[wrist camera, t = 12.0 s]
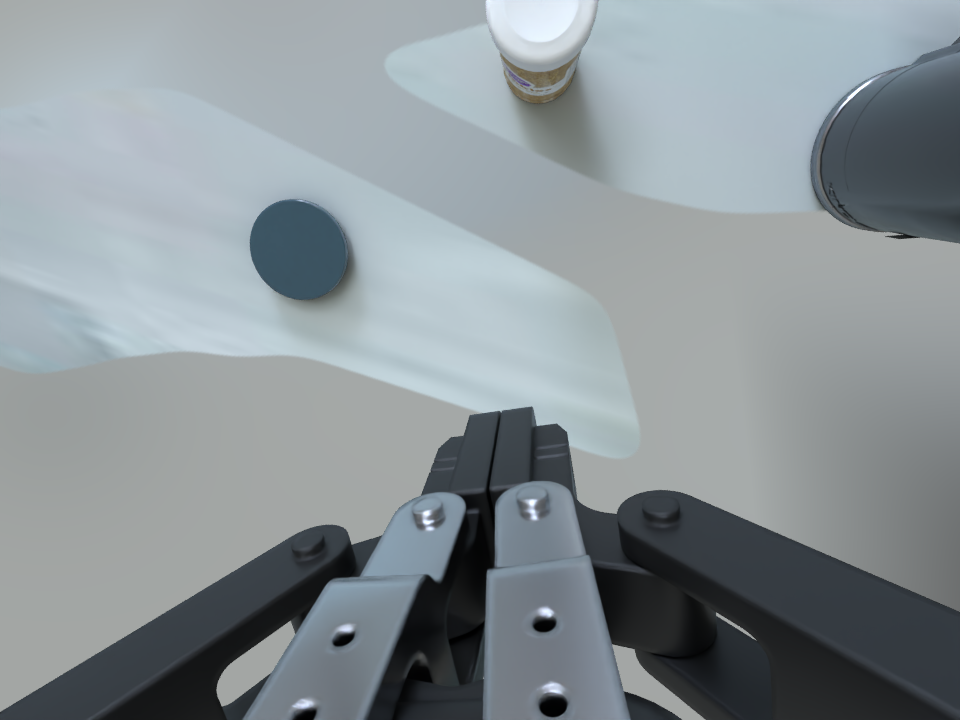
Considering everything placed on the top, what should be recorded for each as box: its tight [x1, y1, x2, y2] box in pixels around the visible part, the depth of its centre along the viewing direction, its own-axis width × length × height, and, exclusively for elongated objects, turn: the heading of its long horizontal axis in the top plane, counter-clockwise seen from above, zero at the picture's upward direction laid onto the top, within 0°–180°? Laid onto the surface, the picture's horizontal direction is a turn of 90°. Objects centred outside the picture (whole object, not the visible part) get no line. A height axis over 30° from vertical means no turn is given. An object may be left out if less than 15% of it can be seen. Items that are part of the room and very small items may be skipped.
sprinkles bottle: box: [486, 0, 598, 103], centre depth 28 cm, size 5×5×14 cm
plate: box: [250, 199, 348, 300], centre depth 39 cm, size 7×7×1 cm
